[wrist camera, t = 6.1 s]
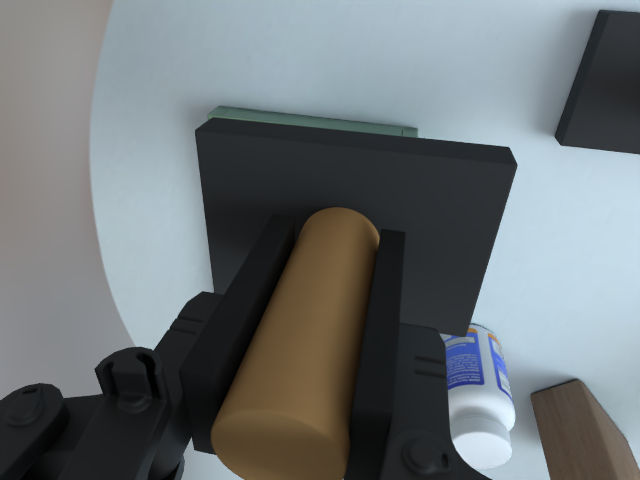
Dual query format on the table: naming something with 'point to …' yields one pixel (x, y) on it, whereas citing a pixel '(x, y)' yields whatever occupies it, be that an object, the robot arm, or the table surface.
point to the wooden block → (581, 436)
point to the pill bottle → (479, 398)
